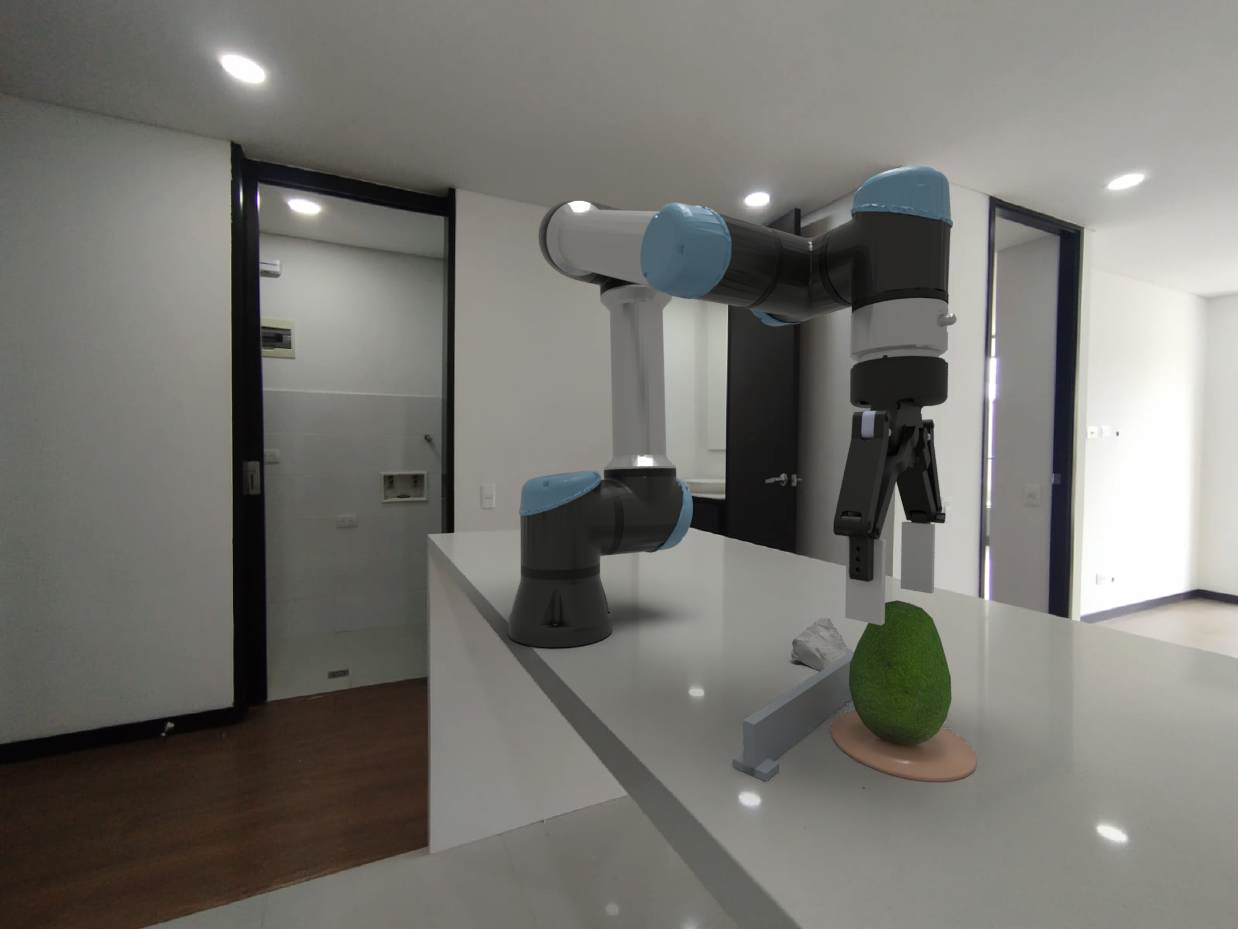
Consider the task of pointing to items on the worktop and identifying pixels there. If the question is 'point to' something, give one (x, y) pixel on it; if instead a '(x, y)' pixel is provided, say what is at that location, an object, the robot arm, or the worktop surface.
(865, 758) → the saucer
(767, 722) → the acrylic wall
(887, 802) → the worktop surface
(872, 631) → the fruit
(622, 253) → the robot arm
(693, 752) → the worktop surface
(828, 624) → the stone
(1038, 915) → the worktop surface
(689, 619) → the worktop surface
